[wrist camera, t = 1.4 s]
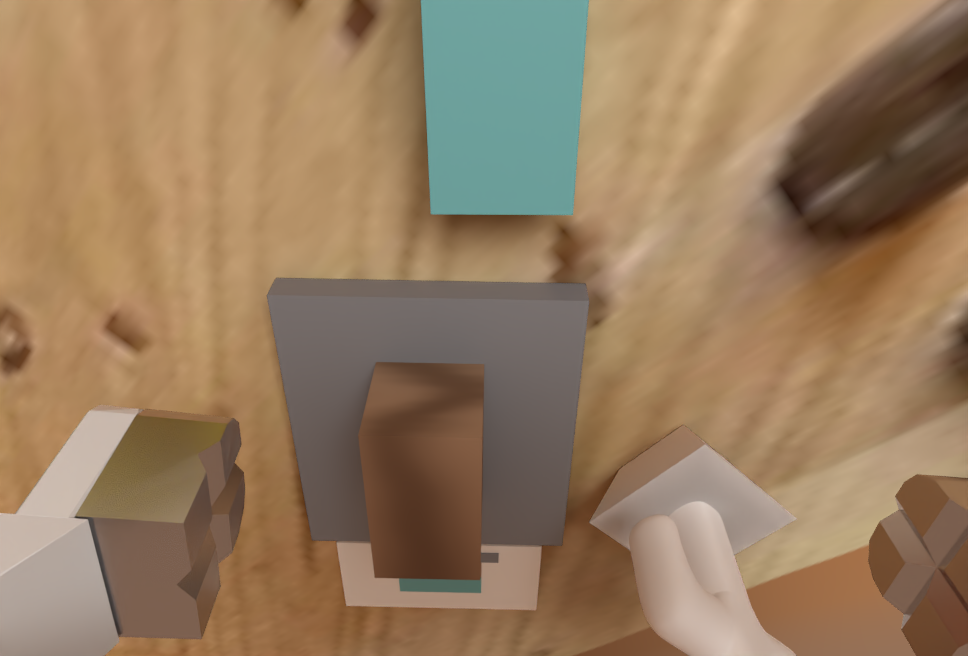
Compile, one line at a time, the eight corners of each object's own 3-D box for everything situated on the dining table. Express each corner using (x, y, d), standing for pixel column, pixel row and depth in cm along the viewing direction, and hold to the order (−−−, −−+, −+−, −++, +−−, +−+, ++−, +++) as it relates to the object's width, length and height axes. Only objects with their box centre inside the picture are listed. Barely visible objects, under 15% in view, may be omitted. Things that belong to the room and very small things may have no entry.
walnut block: (484, 364, 33) (482, 438, 28) (482, 500, 38) (480, 580, 33) (376, 362, 33) (358, 435, 28) (388, 498, 38) (374, 577, 33)
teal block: (577, -91, 24) (594, -80, 20) (561, 163, 29) (572, 215, 25) (430, -91, 24) (417, -80, 20) (440, 163, 29) (430, 214, 25)
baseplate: (585, 283, 32) (589, 300, 31) (560, 524, 41) (562, 545, 40) (276, 278, 32) (266, 295, 31) (317, 519, 41) (312, 540, 40)
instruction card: (541, 541, 42) (541, 548, 41) (536, 604, 45) (536, 611, 45) (337, 537, 42) (336, 543, 41) (347, 600, 45) (346, 606, 45)
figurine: (673, 381, 35) (771, 673, 22) (785, 475, 38) (923, 774, 26) (567, 459, 38) (601, 754, 25) (679, 540, 41) (758, 835, 29)
